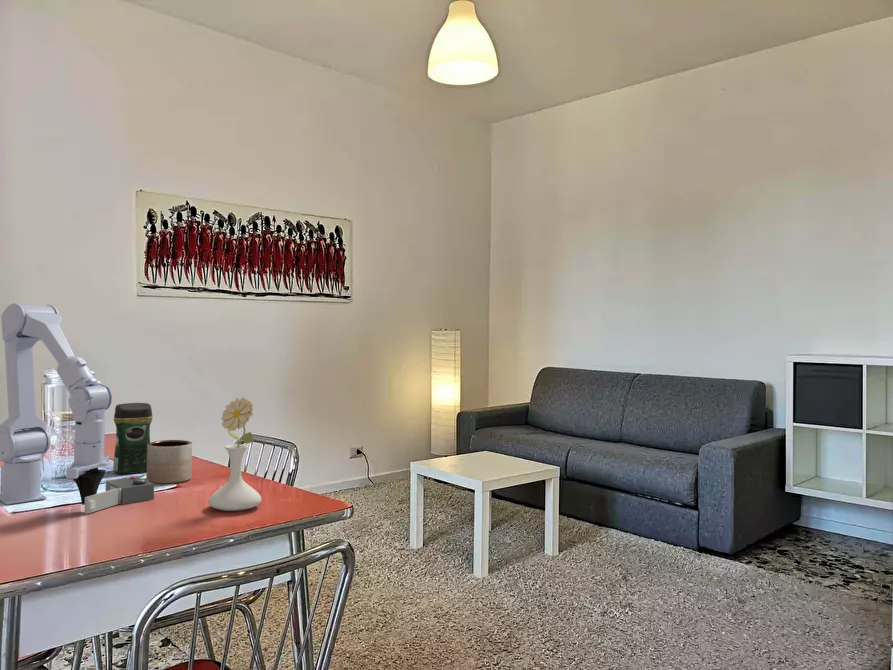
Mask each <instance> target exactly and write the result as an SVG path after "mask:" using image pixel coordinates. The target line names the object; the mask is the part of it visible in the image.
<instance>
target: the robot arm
mask: <svg viewBox="0 0 893 670" xmlns="http://www.w3.org/2000/svg"><path fill="white" fill-rule="evenodd" d="M0 317H1V333H2V341H4V356H5V357H4V358H5V373H6V376H5V377H6V392H7V393H6V394H7V396H6V397H7V410H8V411H7V412H8V413H7V416H8V418H7V419H5V420H4V421H3V422H1V424H0V462H3V464H2V465H1V468H0V501H1V502H2V503H4V504H5V505H13V504H20V503H26V502H27V503H28V502H34V501H35V502H36V501H41V500H46V499H47V496H46V495H44V494H42V493H41V481H42V480H41V478H42V475H41V474H42V473H41V471H42V469H41V468H42V459H43V458H44V459H45V454H46V453H48V451H49V449H50V446H51V437H50V434H49V432H48V427H47V422H46V421H44V420H43V419H42V418H41V417H39V416H38V415H37V410H36V409H37V408H36V391H35V390H36V389H35V372H34V371H35V370H34V356H33V355H34V353H33V351H34V350H33V347H34V346H35V345H36V344H37V343H38V342H39V341H42V343H43V344H44V346H45V347H46V348H47V350H48V351H49V352H50V353H51V355H52V356H53V358H54V359H55V361H56V362H57V363H58V365H57V368H56V373H57V375H58V376H59V378H60V380H61V381H62V384H63V385H64V386H65V387H66V389H67V391H68V393H69V395H70V397H69V398H68V405H69V408H70V410H71V413H72V416H71V417H72V419H73V422H74V443H73V446H74V448H73V449H74V450H73V451H74V452H73V462H72V463H71V465H70V466H69V467H67V468H66V473H65V476H66V479H73V481H74V482H75V485H76V487H77V489H78V492H79V496H80V499H81V500H80V501H81V504H82V505H83V506H85V497H87V496H91V495H95V494H98V493H97V492H98V489H99V486H100V484H101V482H102V479H103V478H104V476H105V474H106V470H105V469H99V468H101V467H108V466H110V455H105V433H106V431H105V427H106V410H108V409H109V408H110V407H111V404H112V402H113V395H112V392H111V390H110V387H109V386H108V385H107V384H105V383H101V381H100V380H97V379H96V377H95V376H94V374H93V373H92V370H91V369H90V368H89V366H88V364H87V362H86V360H85V359H84V358H83V357H80V356H79V357H78V356H75V354H74V352H73V350H72V347H71V346H70V343H69V342H68V340H67V338H66V336H65V333H64V331H63V330H62V328H61V327H62V322H63V317H62V316H61V315H60V312H59V310H58V308H57V307H56V306H54V305H52V304H45V305H44V304H43V305H41V304H23V303H21V304H19V303H11V304H9V305H8V306H7V307H6V308H5V309H4V311H3V312H2V313H1V315H0ZM23 429H24V430H23Z"/></svg>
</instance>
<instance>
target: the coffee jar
mask: <svg viewBox="0 0 893 670" xmlns="http://www.w3.org/2000/svg"><path fill="white" fill-rule="evenodd" d="M152 410H153V409H152V405H151V404H150V403H146V402H129V403H127V402H126V403H118V404H116V406H115V409H114V413H113V414H114V416H113V422H114V424H115V427H116V428H115V429H116V431H115V432H116V434H115V447H114V454H113V455H114V456H113V467H112V469H113V472H114V473H115V474H121V475H123V474H125V473H131V474H139V473H138V472H140V473H144V472H146V473H147V447H148V443H151V435H150V433H151V431H150V429H151V428H150V427H151V424H152V422H153V418H154V417H153V411H152Z"/></svg>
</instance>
